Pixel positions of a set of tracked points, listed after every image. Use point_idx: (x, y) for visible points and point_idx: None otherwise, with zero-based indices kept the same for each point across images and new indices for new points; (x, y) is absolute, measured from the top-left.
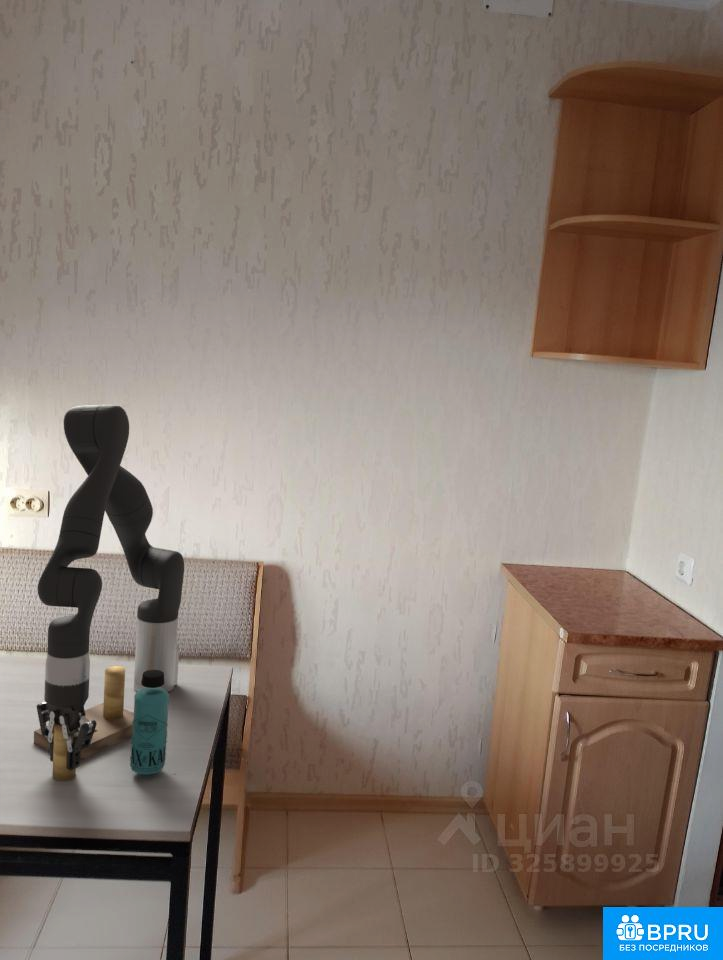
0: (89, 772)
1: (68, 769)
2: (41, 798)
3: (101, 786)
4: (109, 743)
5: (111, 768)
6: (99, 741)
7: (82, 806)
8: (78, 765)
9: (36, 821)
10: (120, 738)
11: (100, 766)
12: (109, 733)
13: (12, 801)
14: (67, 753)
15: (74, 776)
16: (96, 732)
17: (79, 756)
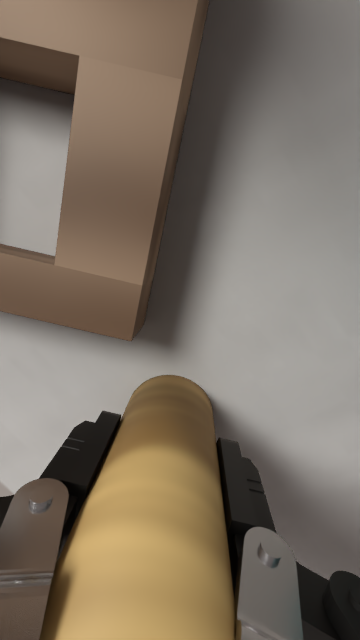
0: (244, 357)
1: None
2: None
3: (348, 420)
4: (186, 100)
5: (313, 289)
6: (167, 167)
7: (352, 539)
8: (248, 461)
9: None
10: (206, 2)
11: (258, 296)
12: (169, 46)
13: None
14: None
15: (212, 410)
16: (87, 85)
17: (265, 507)
